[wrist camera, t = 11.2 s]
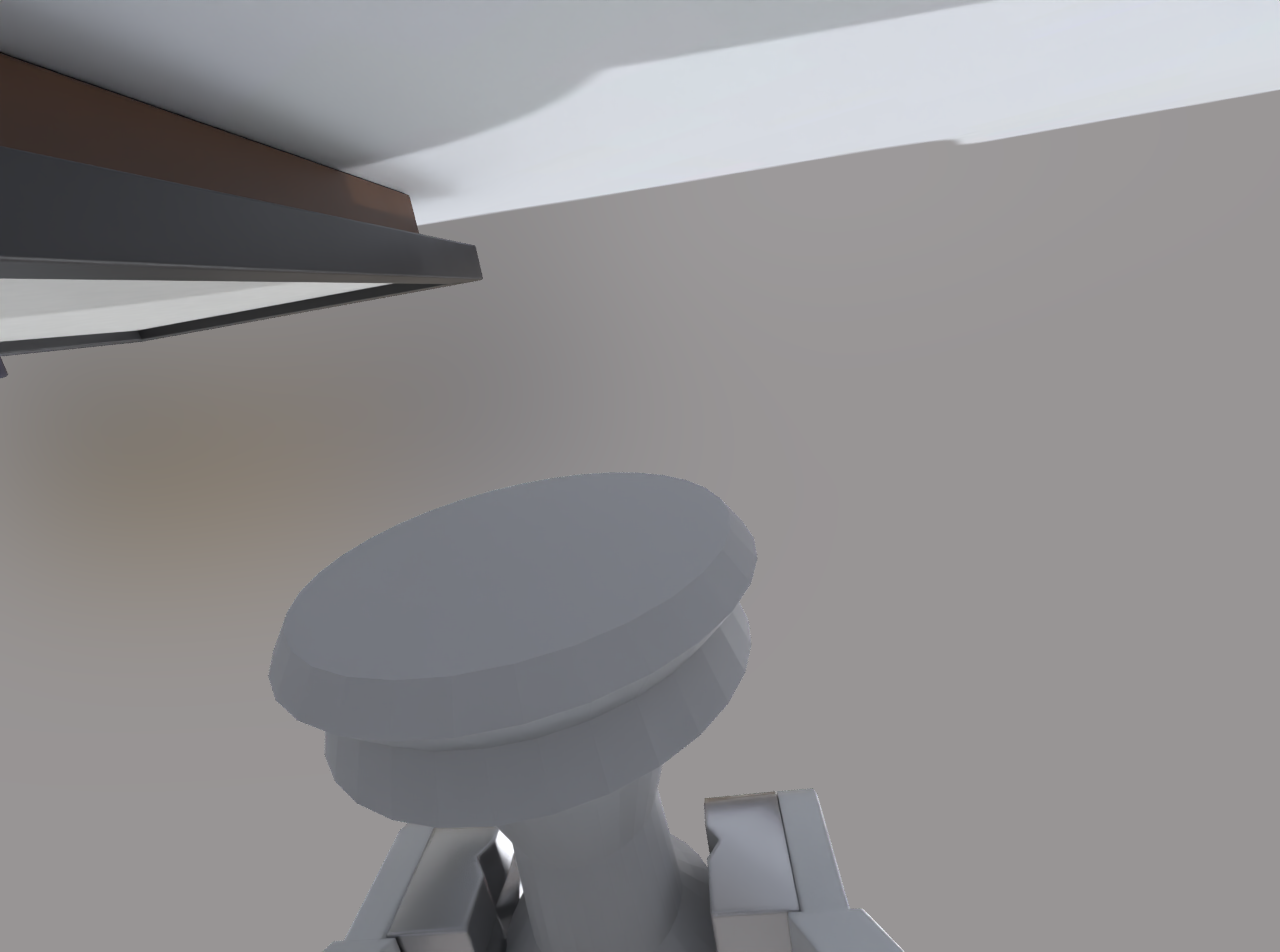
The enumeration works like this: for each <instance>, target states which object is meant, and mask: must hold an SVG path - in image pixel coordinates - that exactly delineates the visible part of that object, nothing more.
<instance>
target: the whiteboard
mask: <svg viewBox="0 0 1280 952" xmlns="http://www.w3.org/2000/svg"><path fill="white" fill-rule="evenodd" d="M482 279H483V277H482V273H481V268H480V264H479V259H478V255H477V251H476V247H475V245H470V244H466V243H461V242H456V241H451V240H446V239H442V238H437V237H432V236H427V235H423V234H419V232H418V228H417V224H416V220H415V216H414V212H413V209H412V205H411V201H410V197H409V195H406V194H404V193H401V192H398V191H395V190H392V189H389V188H386V187H383V186H381V185H378V184H375V183H372V182H369V181H366V180H363V179H360V178H358V177H355V176H352V175H349V174H346V173H343V172H340V171H337V170H335V169H332V168H329V167H326V166H323V165H320V164H317V163H314V162H312V161H309V160H306V159H303V158H300V157H297V156H294V155H291V154H289V153H286V152H283V151H280V150H277V149H274V148H271V147H268V146H266V145H263V144H260V143H257V142H254V141H251V140H248V139H245V138H243V137H240V136H237V135H234V134H231V133H228V132H225V131H222V130H220V129H217V128H214V127H211V126H208V125H205V124H202V123H199V122H196V121H194V120H191V119H188V118H185V117H182V116H179V115H176V114H173V113H171V112H168V111H165V110H162V109H159V108H156V107H153V106H150V105H148V104H145V103H142V102H139V101H136V100H133V99H130V98H127V97H125V96H122V95H119V94H116V93H113V92H110V91H107V90H104V89H102V88H99V87H96V86H93V85H90V84H87V83H84V82H81V81H79V80H76V79H73V78H70V77H67V76H64V75H61V74H58V73H56V72H53V71H50V70H47V69H44V68H41V67H38V66H35V65H33V64H30V63H27V62H24V61H21V60H18V59H15V58H12V57H10V56H7V55H4V54H1V53H0V356H9V355H18V354H28V353H38V352H46V351H57V350H66V349H76V348H86V347H95V346H105V345H113V344H114V345H115V344H124V343H133V342H142V341H148V340H153V339H159V338H164V337H170V336H176V335H181V334H186V333H192V332H197V331H203V330H209V329H214V328H220V327H225V326H231V325H236V324H242V323H247V322H253V321H258V320H264V319H269V318H275V317H280V316H286V315H291V314H297V313H302V312H308V311H313V310H319V309H324V308H330V307H335V306H341V305H346V304H352V303H357V302H362V301H368V300H374V299H379V298H385V297H390V296H396V295H402V294H407V293H412V292H418V291H424V290H429V289H435V288H440V287H446V286H451V285H456V284H461V283H467V282H473V281H478V280H482Z"/></svg>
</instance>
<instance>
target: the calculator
mask: <svg viewBox="0 0 1280 952" xmlns="http://www.w3.org/2000/svg"><path fill="white" fill-rule="evenodd" d="M7 375H8V374H7V371H6V368H5V366H4V364H3V362H2V359H1V357H0V378H3V377H6V376H7Z"/></svg>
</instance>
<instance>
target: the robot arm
mask: <svg viewBox="0 0 1280 952" xmlns="http://www.w3.org/2000/svg"><path fill="white" fill-rule="evenodd" d="M704 809H705V826H706V832H707V839H708V845H709V852H710V855H709V856H708V858H707V864H708V879H709V894H710V910H711V919H712V925H713V931H714V937H715V942H716V948H717V952H904V951H903V949H902V948H901V947H900V946H899V945H898V944H897V943H896V942H895V941H894V940H893V939H892V938H891V937H890V936H889V935H888V934H887V933H886V932H885V931H884V930H883V929H882V928H881V927H880V926H879V925H878V924H877V923H876V922H875V921H874V920H873V919H872V918H871V917H870V916H869V915H868V914H867V913H866V912H865V911H864V909H862V908H858V909H857V908H855V909H854V908H853V909H850V908H849V905H848V901H847V897H846V894H845V890H844V887H843V883H842V880H841V876H840V873H839V869H838V866H837V862H836V859H835V855H834V852H833V848H832V844H831V841H830V837H829V834H828V831H827V827H826V823H825V820H824V816H823V813H822V810H821V806H820V802H819V799H818V795H817V793H816V792H815V791H814V789H813V788H810V789H799V790H788V791H778V792H777V794H776V793H775V792H764V793H754V794H744V795H734V796H723V797H713V798H705V802H704ZM522 893H523V889H522V884H521V880H520V875H519V871H518V867H517V862H516V858H515V853H514V849H513V845H512V842H511V841H510V840H509V839H508V838H507V837H506V836H505V835H504V834H503V833H502V832H501V831H500V830H499V829H498V828H497V827H496V826H495V827H463V828H435V827H429V826H424V825H418V824H412V823H407V824H406V825H405V826H404V827H403V828H402V829H401V830H400V831H399V833H398V835H397V837H396V839H395V841H394V843H393V845H392V847H391V849H390V851H389V853H388V854H387V857H386V858H385V861H384V862H383V864H382V866H381V868H380V870H379V872H378V874H377V876H376V878H375V880H374V882H373V884H372V886H371V888H370V890H369V892H368V894H367V896H366V898H365V900H364V902H363V904H362V906H361V908H360V910H359V912H358V914H357V916H356V918H355V920H354V922H353V924H352V926H351V928H350V930H349V932H348V933H347V935H346V937H345V940H344V941H334V942H332V943H331V944H330V945H329V946H328V947H327V948H326V949H325V950H324V951H322V952H506V948H507V941H506V939H507V932H508V929H509V925H510V922H511V919H512V916H513V913H514V911H515V909H516V907H517V905H518V902H519V899H520V897H521V895H522Z"/></svg>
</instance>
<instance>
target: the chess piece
mask: <svg viewBox="0 0 1280 952" xmlns="http://www.w3.org/2000/svg"><path fill="white" fill-rule="evenodd" d="M756 562H757V553H756V547H755V542H754V538H753V536H752V535H751V533H750V532H749V530H748V529H747V527H746V526H745V524H744V523H743V521H742V520H741V519H740V518H739V517H738V516H737V515H736V514H735V513H734V512H733V511H732V510H731V509H730V508H729V507H728V506H727V505H726V504H725V503H724V502H723V501H722V500H721V499H720V498H719V497H718V496H716V495H715V494H714V493H712V492H711V491H709V490H708V489H707V488H705V487H703V486H700V485H697V484H695V483H692V482H690V481H687V480H684V479H679V478H674V477H670V476H665V475H657V474H646V473H615V472H610V473H595V474H581V475H572V476H565V477H557V478H550V479H544V480H539V481H534V482H528V483H523V484H518V485H515V486H511V487H506V488H502V489H498V490H493V491H489V492H486V493H483V494H479V495H476V496H473V497H469V498H466V499H462V500H459V501H457V502H454V503H451V504H448V505H445V506H442V507H439V508H437V509H434V510H431V511H428V512H426V513H424V514H421V515H419V516H417V517H414V518H412V519H409V520H407V521H405V522H402V523H400V524H398V525H396V526H394V527H392V528H390V529H388V530H386V531H384V532H382V533H380V534H378V535H376V536H374V537H372V538H370V539H368V540H366V541H365V542H363V543H362V544H360V545H358V546H357V547H355V548H353V549H352V550H350V551H348V552H347V553H345V554H343V555H342V556H340V557H339V558H338V559H336V560H335V561H334V562H333V563H331V564H330V565H329V566H327V567H326V568H325V569H323V570H322V571H321V572H319V573H318V574H317V575H316V576H315V577H314V578H313V579H312V580H311V581H310V582H309V583H308V584H307V585H306V586H305V587H304V588H303V589H302V590H301V592H300V593H299V594H298V596H297V597H296V599H295V600H294V602H293V604H292V605H291V607H290V609H289V610H288V612H287V614H286V617H285V620H284V623H283V626H282V628H281V631H280V634H279V636H278V639H277V642H276V645H275V648H274V650H273V655H272V660H271V665H270V670H269V675H268V676H269V680H270V683H271V686H272V690H273V693H274V697H275V700H276V701H277V702H278V703H279V704H281V705H282V706H283V707H284V708H285V709H286V710H287V711H288V712H289V713H290V714H291V715H292V716H293V717H294V718H295V719H296V720H298V721H300V722H303V723H305V724H308V725H311V726H313V727H316V728H318V729H321V730H323V731H325V757H326V760H327V762H328V765H329V767H330V770H331V772H332V775H333V778H334V780H335V782H336V783H337V784H338V785H339V786H340V787H341V788H342V789H343V790H344V791H345V792H346V793H347V794H348V795H349V796H350V797H351V798H352V799H353V800H354V801H355V802H356V803H357V804H359V805H361V806H364V807H366V808H368V809H370V810H372V811H374V812H376V813H378V814H381V815H383V816H385V817H387V818H389V819H391V820H395V821H401V822H407V823H412V824H418V825H424V826H429V827H435V828H463V827H495V826H496V827H497V828H498V829H499V830H500V831H501V832H502V833H503V834H504V835H505V836H506V837H507V838H508V839H509V840H510V841H511V842H512V845H513V849H514V853H515V858H516V862H517V867H518V871H519V875H520V880H521V884H522V889H523V893H522V895H521V897H520V899H519V902H518V905H517V907H516V909H515V911H514V913H513V916H512V919H511V922H510V925H509V929H508V932H507V939H506V941H507V948H506V952H717V948H716V942H715V937H714V931H713V925H712V919H711V910H710V894H709V879H708V867H707V866H706V864H705V863H704V862H703V860H702V859H701V857H700V856H699V855H698V854H697V853H696V852H695V851H694V850H693V849H692V848H691V847H690V846H689V845H687V844H686V843H685V842H684V841H682V840H680V839H679V838H677V837H675V836H674V835H672V834H670V832H669V828H668V824H667V821H666V817H665V813H664V810H663V806H662V802H661V799H660V795H659V792H658V784H659V779H660V775H661V770H662V765H663V764H664V763H665V762H666V761H668V760H669V759H670V758H672V757H673V756H674V755H675V754H677V753H678V752H679V751H680V750H682V749H683V748H684V747H686V746H687V745H688V744H690V743H691V742H692V741H693V740H695V739H696V738H697V737H699V736H700V735H701V733H703V731H704V730H705V729H706V728H707V727H708V726H709V725H710V724H711V722H712V721H713V720H714V719H715V718H716V717H717V716H718V714H719V713H720V712H721V711H722V710H723V709H724V708H725V706H726V705H727V704H728V703H729V701H730V700H731V698H732V695H733V694H734V692H735V690H736V688H737V687H738V685H739V683H740V681H741V679H742V677H743V676H744V674H745V671H746V666H747V662H748V657H749V653H750V648H751V637H750V629H749V621H748V619H747V616H746V614H745V612H744V610H743V608H742V607H741V604H740V602H739V601H740V599H741V598H742V596H743V595H744V593H745V591H746V590H747V589H748V587H749V586H750V584H751V581H752V577H753V574H754V570H755V566H756Z"/></svg>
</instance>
